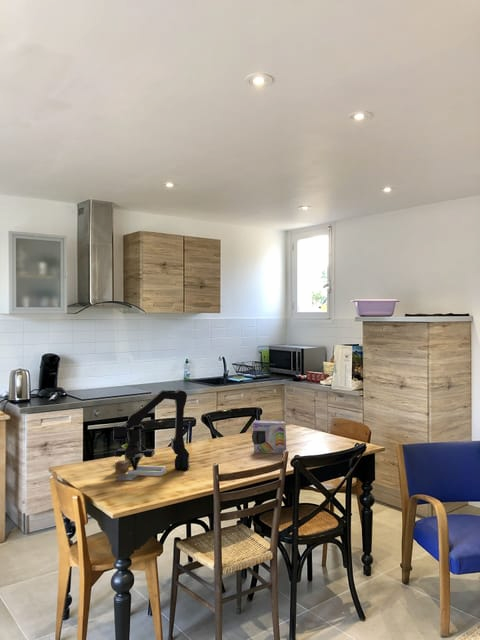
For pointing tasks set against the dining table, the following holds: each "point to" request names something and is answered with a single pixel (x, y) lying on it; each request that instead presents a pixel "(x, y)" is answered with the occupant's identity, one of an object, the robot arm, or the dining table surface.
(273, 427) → the cake pan box
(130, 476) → the slate coaster
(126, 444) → the plant pot
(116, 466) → the walnut block
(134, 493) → the dining table surface
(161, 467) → the channel
